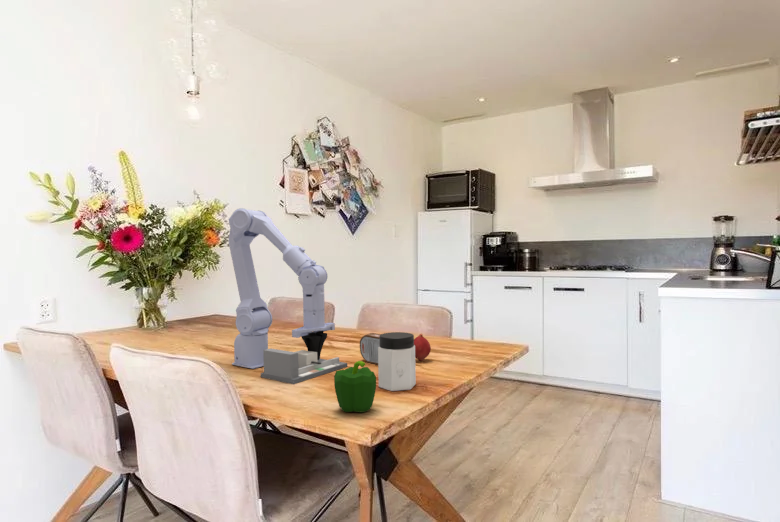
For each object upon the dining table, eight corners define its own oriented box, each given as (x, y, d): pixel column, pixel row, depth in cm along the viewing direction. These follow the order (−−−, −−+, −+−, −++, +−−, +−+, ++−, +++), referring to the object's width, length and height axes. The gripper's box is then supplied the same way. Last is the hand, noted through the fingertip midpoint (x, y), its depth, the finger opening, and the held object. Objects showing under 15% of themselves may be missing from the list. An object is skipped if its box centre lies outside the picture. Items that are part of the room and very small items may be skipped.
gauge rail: (260, 377, 118) (260, 349, 118) (315, 361, 135) (315, 337, 135) (293, 384, 111) (293, 355, 111) (347, 366, 128) (346, 341, 128)
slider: (291, 367, 123) (291, 352, 123) (303, 364, 126) (303, 349, 126) (315, 372, 118) (314, 356, 118) (326, 368, 121) (326, 353, 121)
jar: (382, 392, 104) (381, 339, 103) (375, 382, 112) (374, 333, 111) (420, 389, 106) (419, 337, 105) (411, 379, 114) (410, 331, 113)
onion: (407, 362, 131) (407, 334, 131) (414, 358, 137) (413, 331, 137) (427, 364, 129) (426, 335, 129) (433, 359, 135) (432, 332, 134)
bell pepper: (330, 406, 95) (329, 357, 95) (368, 400, 98) (367, 353, 98) (341, 419, 87) (340, 366, 87) (382, 413, 90) (381, 362, 90)
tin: (403, 367, 126) (402, 336, 126) (395, 369, 124) (394, 338, 124) (365, 359, 137) (365, 330, 136) (357, 361, 134) (357, 332, 134)
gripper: (305, 314, 117) (306, 367, 118) (342, 308, 129) (343, 356, 130) (285, 312, 121) (286, 364, 122) (324, 306, 133) (324, 353, 134)
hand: (314, 360), depth 126 cm, fingers closed
